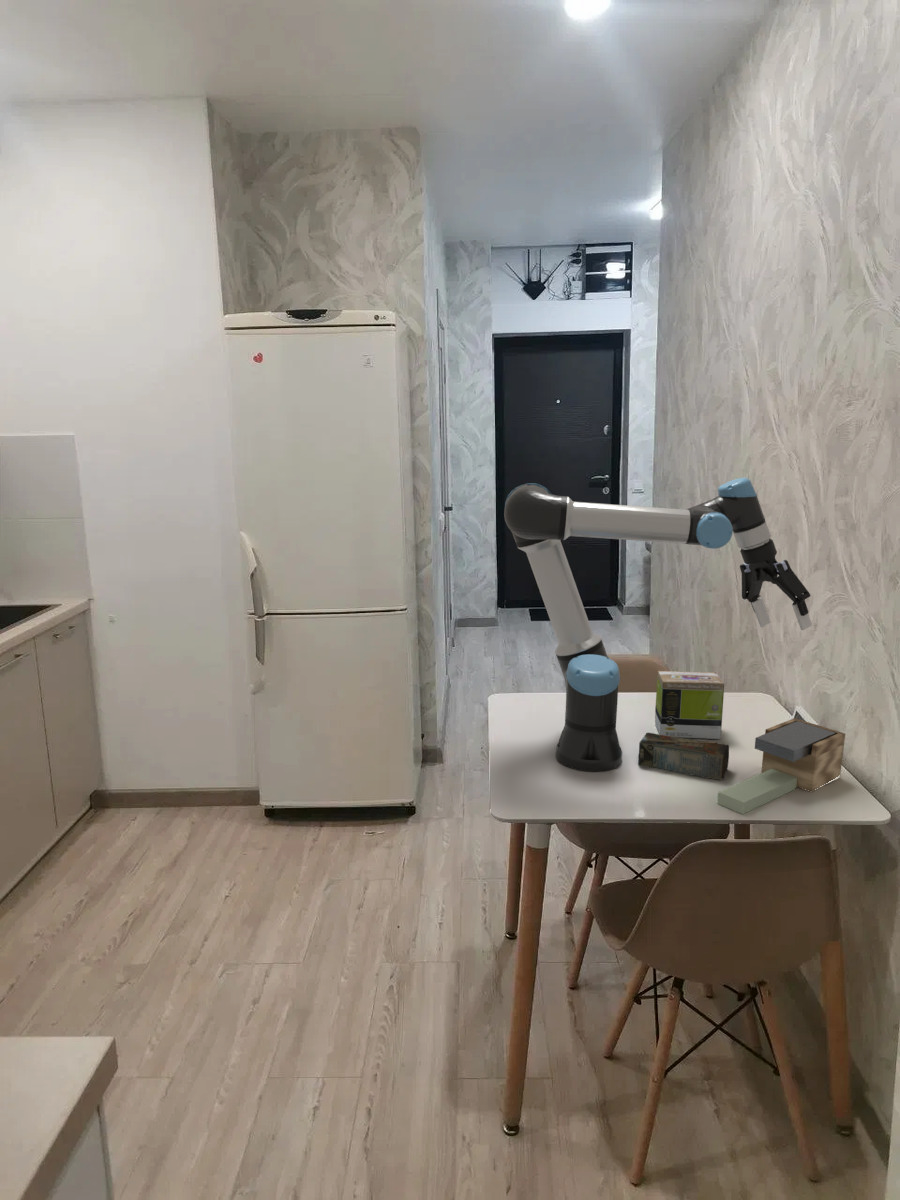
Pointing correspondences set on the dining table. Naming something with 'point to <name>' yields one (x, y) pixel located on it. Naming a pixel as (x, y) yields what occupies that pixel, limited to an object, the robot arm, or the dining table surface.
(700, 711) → the tea box
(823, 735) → the cover plate
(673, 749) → the beverage carton
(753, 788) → the block
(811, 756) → the oak box
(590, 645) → the robot arm
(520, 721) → the dining table surface
